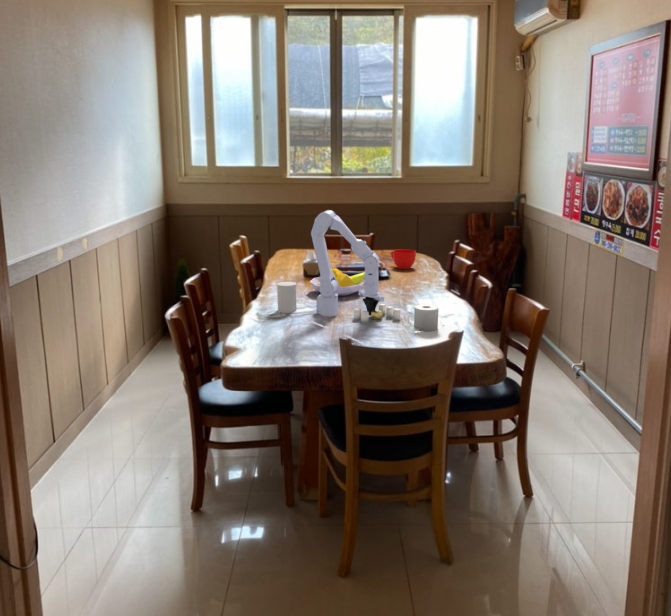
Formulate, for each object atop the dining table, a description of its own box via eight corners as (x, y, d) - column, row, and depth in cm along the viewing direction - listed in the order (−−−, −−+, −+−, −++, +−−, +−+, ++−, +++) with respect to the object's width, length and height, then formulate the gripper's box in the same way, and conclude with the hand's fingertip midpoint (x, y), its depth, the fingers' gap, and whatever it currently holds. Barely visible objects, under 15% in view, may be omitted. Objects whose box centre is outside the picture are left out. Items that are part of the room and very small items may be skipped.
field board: (350, 320, 266) (350, 318, 266) (382, 314, 276) (382, 312, 276) (370, 327, 256) (370, 325, 256) (402, 320, 266) (402, 319, 265)
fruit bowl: (304, 297, 304) (303, 274, 301) (319, 285, 330) (319, 263, 327) (362, 301, 298) (362, 277, 295) (373, 288, 323) (373, 266, 320)
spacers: (352, 318, 266) (352, 309, 265) (382, 312, 275) (382, 303, 274) (371, 325, 256) (371, 315, 255) (401, 319, 265) (402, 309, 264)
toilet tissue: (434, 322, 264) (435, 301, 262) (438, 331, 251) (439, 310, 249) (412, 322, 264) (412, 301, 262) (415, 331, 251) (416, 310, 249)
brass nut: (368, 318, 266) (368, 311, 266) (377, 316, 269) (377, 309, 268) (375, 320, 263) (375, 313, 262) (384, 319, 265) (384, 311, 264)
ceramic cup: (399, 264, 384) (399, 247, 381) (420, 268, 371) (420, 251, 369) (383, 266, 376) (383, 249, 373) (404, 271, 363) (404, 253, 361)
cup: (299, 308, 284) (298, 282, 281) (292, 313, 277) (292, 286, 274) (281, 307, 286) (281, 281, 283) (275, 312, 279) (274, 285, 276)
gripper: (390, 285, 262) (389, 317, 265) (368, 278, 273) (367, 309, 277) (376, 287, 258) (376, 320, 261) (354, 280, 269) (354, 312, 273)
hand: (370, 315), depth 269 cm, fingers closed
